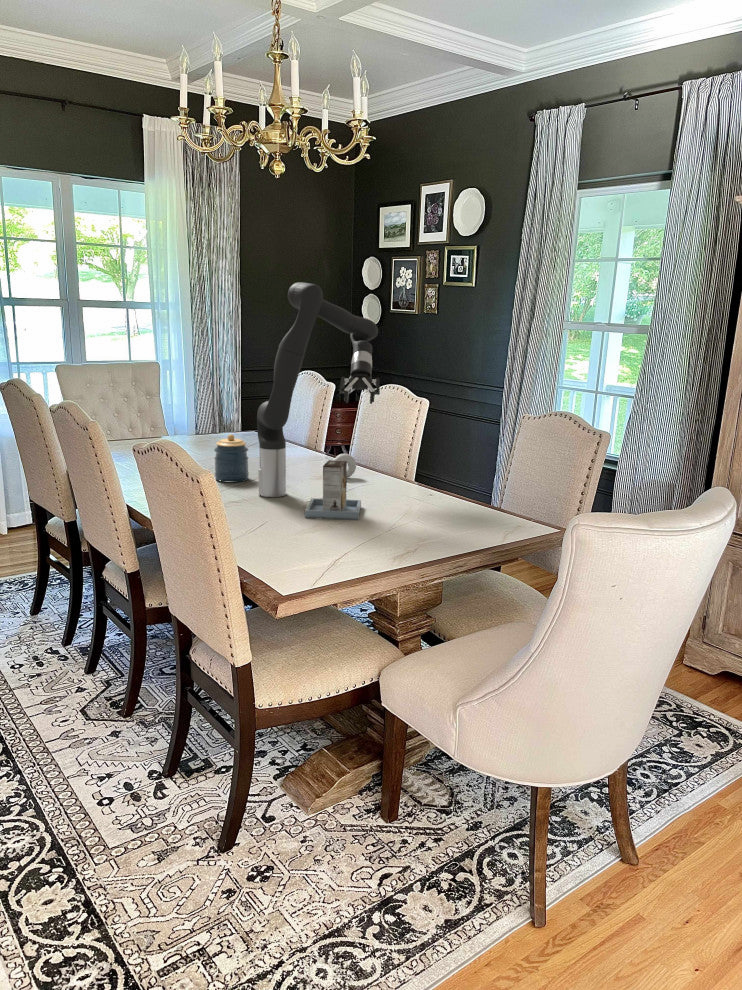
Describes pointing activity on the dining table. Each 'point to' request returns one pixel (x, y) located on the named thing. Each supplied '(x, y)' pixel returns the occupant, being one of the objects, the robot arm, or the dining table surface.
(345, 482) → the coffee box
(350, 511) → the tray
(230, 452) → the canister
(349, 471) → the donut
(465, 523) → the dining table surface
